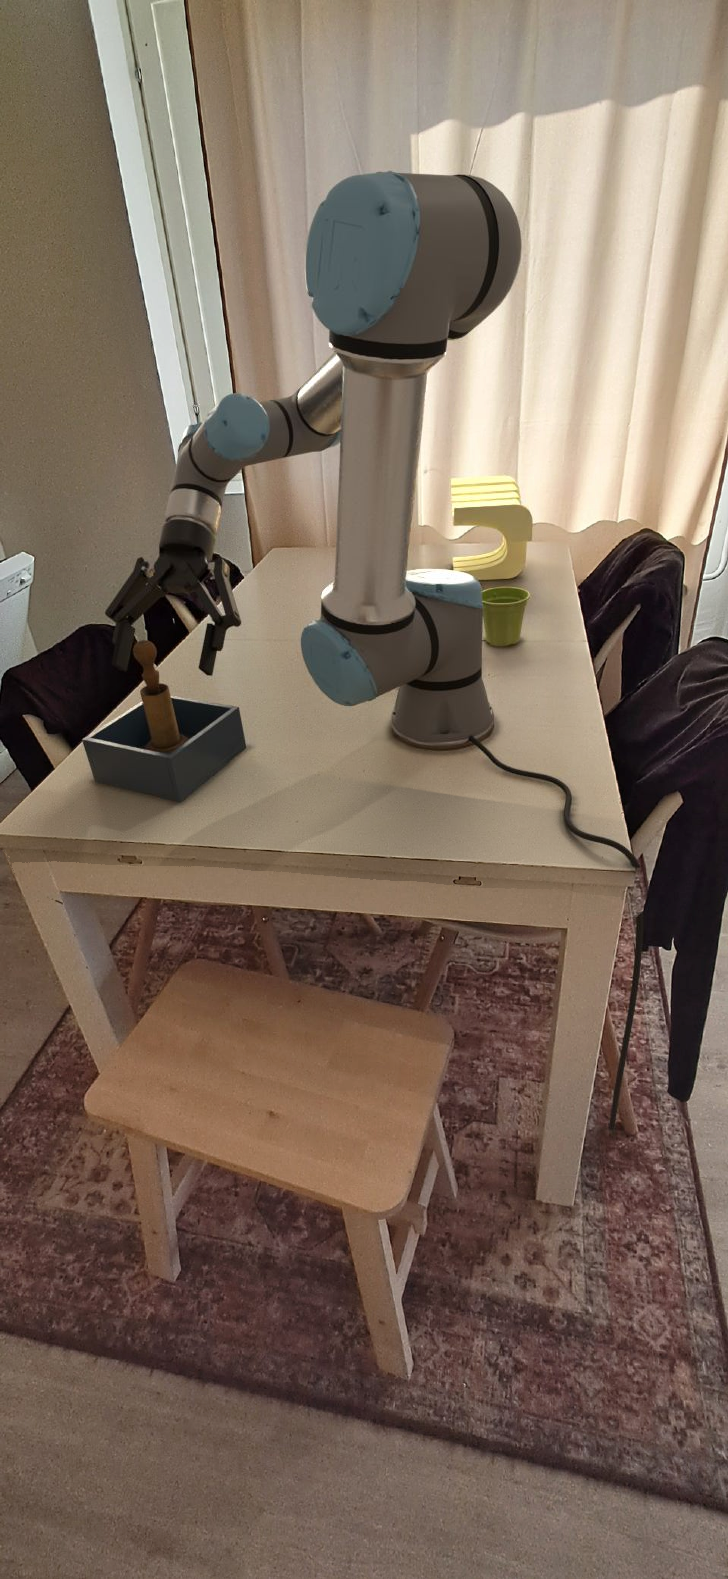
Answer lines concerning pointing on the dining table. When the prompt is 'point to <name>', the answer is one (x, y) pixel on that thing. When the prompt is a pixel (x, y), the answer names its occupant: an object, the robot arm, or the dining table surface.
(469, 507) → the slatted curved stool
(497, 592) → the plant pot
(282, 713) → the dining table surface
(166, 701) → the mortar and pestle
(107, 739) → the tub
